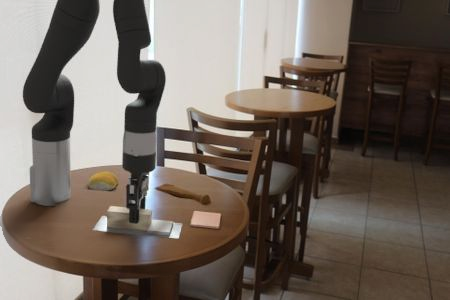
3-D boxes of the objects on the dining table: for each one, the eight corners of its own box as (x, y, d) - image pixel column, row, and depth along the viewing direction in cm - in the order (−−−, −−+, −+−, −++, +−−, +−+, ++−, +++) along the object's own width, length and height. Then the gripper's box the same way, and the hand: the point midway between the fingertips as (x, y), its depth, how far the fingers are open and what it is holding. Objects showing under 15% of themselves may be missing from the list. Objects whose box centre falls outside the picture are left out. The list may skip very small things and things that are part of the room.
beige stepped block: (105, 229, 108) (105, 213, 107) (111, 218, 114) (112, 203, 113) (169, 235, 108) (170, 219, 107) (172, 224, 114) (173, 209, 113)
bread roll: (119, 181, 142) (119, 169, 141) (114, 192, 133) (114, 179, 132) (92, 179, 141) (92, 167, 140) (84, 190, 133) (84, 177, 132)
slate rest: (92, 234, 108) (92, 230, 107) (102, 219, 115) (102, 215, 115) (178, 242, 107) (178, 238, 107) (182, 227, 115) (182, 223, 115)
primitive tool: (153, 189, 138) (154, 178, 137) (166, 185, 143) (167, 174, 142) (203, 209, 128) (204, 197, 127) (215, 204, 132) (216, 193, 131)
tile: (190, 224, 114) (219, 226, 114) (194, 210, 121) (220, 213, 121) (189, 231, 114) (218, 234, 114) (193, 218, 122) (220, 220, 122)
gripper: (130, 139, 113) (128, 203, 117) (114, 156, 99) (113, 228, 104) (161, 142, 113) (158, 206, 117) (149, 159, 99) (146, 231, 103)
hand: (137, 216), depth 110 cm, fingers open, 6 cm apart
